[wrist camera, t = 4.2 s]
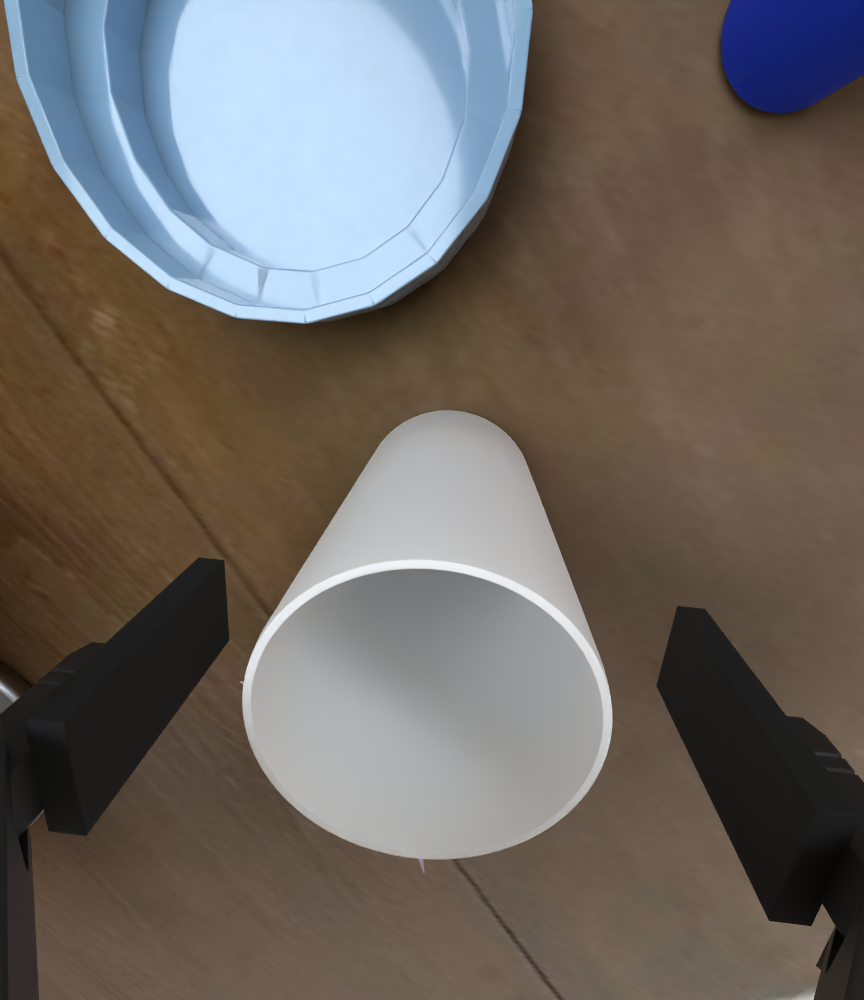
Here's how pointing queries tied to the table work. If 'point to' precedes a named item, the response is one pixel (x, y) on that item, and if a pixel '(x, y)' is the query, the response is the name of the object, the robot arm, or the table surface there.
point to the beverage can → (792, 50)
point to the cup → (432, 657)
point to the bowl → (278, 138)
